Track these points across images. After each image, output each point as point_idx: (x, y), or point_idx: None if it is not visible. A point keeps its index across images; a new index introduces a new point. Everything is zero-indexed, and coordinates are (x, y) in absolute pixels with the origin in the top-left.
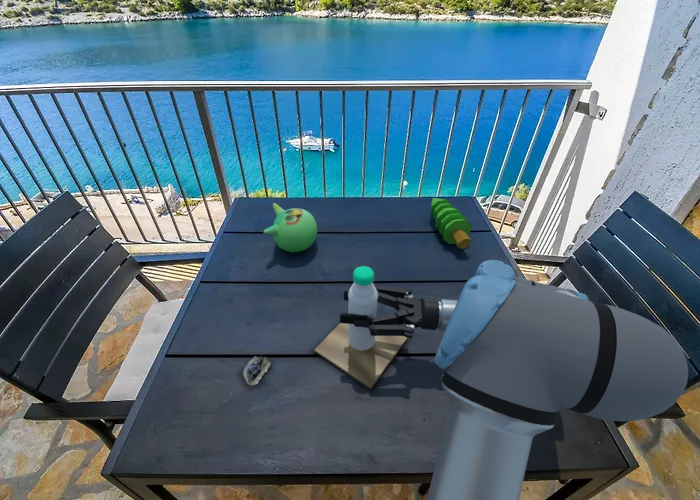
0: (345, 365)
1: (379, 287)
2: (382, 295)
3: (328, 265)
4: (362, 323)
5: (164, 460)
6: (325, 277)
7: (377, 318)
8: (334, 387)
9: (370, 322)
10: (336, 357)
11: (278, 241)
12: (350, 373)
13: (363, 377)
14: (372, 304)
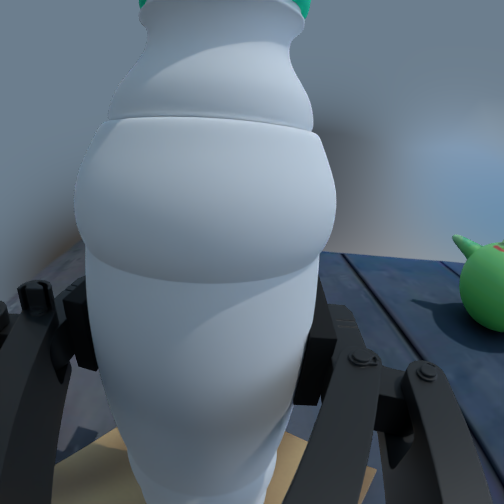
0: (116, 441)
1: (436, 398)
2: (338, 434)
3: (489, 378)
4: (58, 298)
5: (73, 252)
6: (455, 382)
7: (27, 346)
8: (69, 411)
9: (24, 305)
10: None
11: (462, 270)
12: (85, 447)
13: (60, 475)
14: (74, 211)
